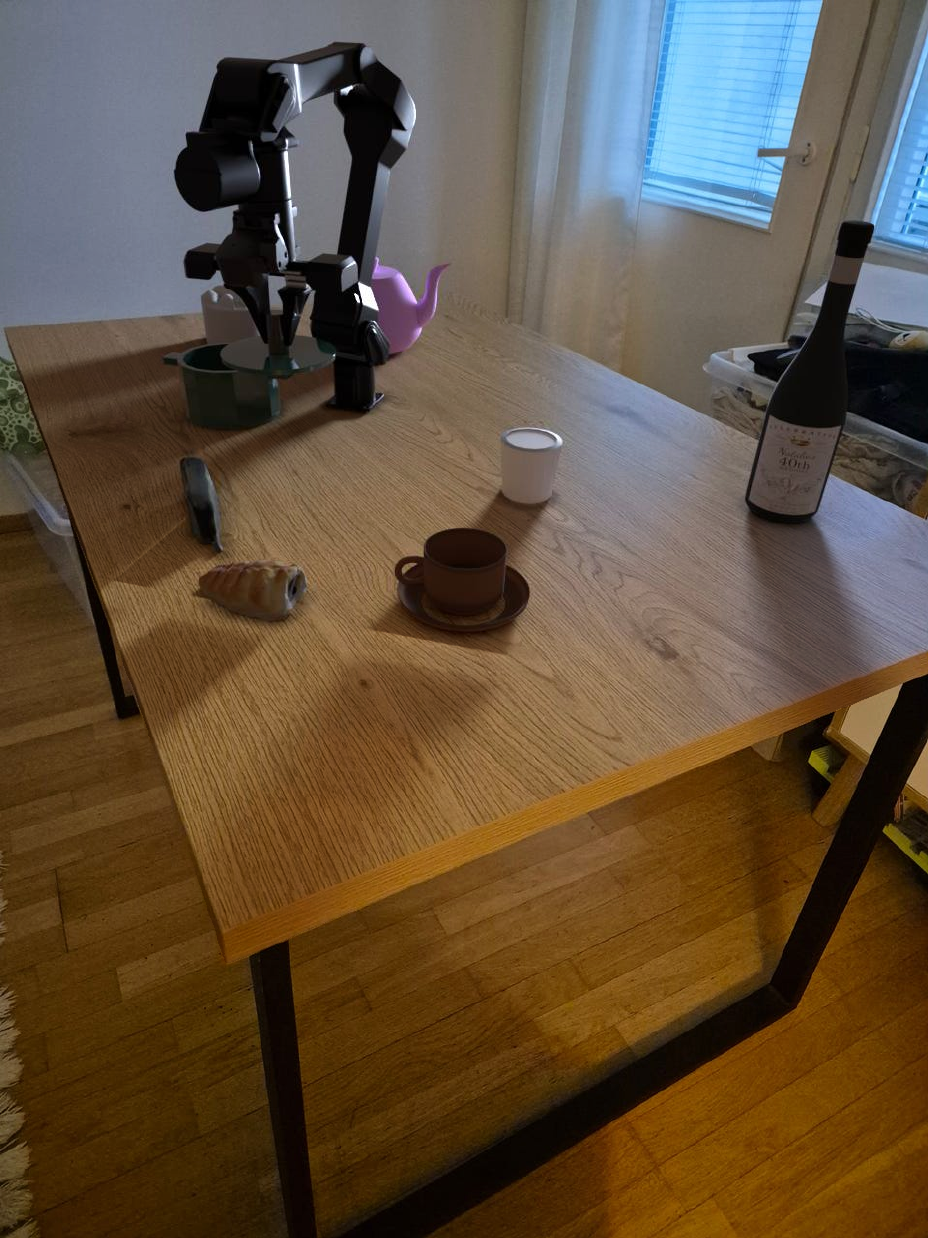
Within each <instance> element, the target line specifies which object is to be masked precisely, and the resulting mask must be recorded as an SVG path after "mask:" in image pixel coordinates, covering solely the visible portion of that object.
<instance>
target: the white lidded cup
mask: <svg viewBox="0 0 928 1238" xmlns="http://www.w3.org/2000/svg"><path fill="white" fill-rule="evenodd" d="M499 444H500V472H501V473H500V475H501V477H500V478H501V493H502V495H503V496H504V497H505V498H507V499H508V500H510V501H512V502H517V503H521V504H529V505H530V504H531V505H532V504H541V503H543V502H546V501H548V500H549V499H551V497H552V495H553V490H554V485H555V480H556V476H557V472H558V471H557V470H558V466H559V460H560V455H561V452H562V446H563V439H562V438H561V437H560V435H558V434H557V433H555V432H553V431H550V430H547V429H543V428H536V427H519V428H518V427H517V428H512V429H508V430H506V431H505V432H503V433H501V435H500V439H499Z"/></svg>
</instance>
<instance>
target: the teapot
mask: <svg viewBox="0 0 928 1238" xmlns="http://www.w3.org/2000/svg"><path fill="white" fill-rule="evenodd" d="M379 260H380V259H379V257H377V256H376V257H375V263H374V269H373V275H372V281H371V290H372V293H373V296H374V299H375V302H376V304H377V307H378V310H379V314H378V327H379V328H380V330H381V331H382V332H383V334H384V335H385V337H386V338H387V340H388V341H389V342H390V350H389V356H390V355H394V354H396V353H399V352H403V351H406V350H407V349H409V348H410V347H412V345H413V344H414V343H415V342H416V340H417V339H418V338H419V337H420V336H421V333H422V330H423V329H422V328H423V327H424V326H425V325H427V324H428V323H429V322H430V321H431V320H432V319H433V317H434V314H435V311H436V308H437V299H438V285H439V281H440V277H441V276H442V274H443V272H444V271H445V270H446V269H448V267H450V266H451V265H452V263H450V262H449V263H445V264H441V265H440V264H439V265H437V266H434V267H433V268H431V269H430V271H428V274H427V276H426V281H425V292H424V295H423V297H422V299H421V300H419V302H417V300H416V298H415V295H414V293H413V291H412V289H411V288H410V285H408V283H407V281H406V279H405V278H404V276H403V275H402V273H401V272H400V271H399V270H398V269H396V268H394V267H390V266H386V265H380V264H379Z"/></svg>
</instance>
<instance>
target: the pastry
mask: <svg viewBox="0 0 928 1238" xmlns="http://www.w3.org/2000/svg"><path fill="white" fill-rule="evenodd" d="M198 585H199V588H200V590H201V592H202V594H203V595H204V596H205V597H206V598H207V599H208V600H210V602H211V603H215V604H217V606H219V607H224V608H225V609H227V611H228V612H231V613H234V614H239V615H242V616H244V617H245V616H246V617H249V618H253V617H254V618H258V619H259V620H262V621H266V622H276V621H282V620H283V621H284V620H286V619H288V617H289V616H290V614H291V613H289V611H292V608H293V607H294V605H295V604H296V603H297V602H298V600H299V599H301V597H303V596H304V594H305V593H306V592H307V590H308V579H307V575H306V573H305V571H304V570H303V568H302V566H300V565H298V564H297V563H295V562H294V563H291V564H288V563H287V562H286V563H285V562H282V561H279V560H272V559H269V558H266V557H263V558H262V557H261V558H260V559H258V560H255V561H254V560H245V561H233V562H229V563H223V564H218V565H215V566H214V567H213V568H211V569H209V570H208V571H206V573H205V574H203V575H201V576H199V578H198Z"/></svg>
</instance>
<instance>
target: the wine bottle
mask: <svg viewBox="0 0 928 1238" xmlns="http://www.w3.org/2000/svg"><path fill="white" fill-rule="evenodd" d="M874 232H875V224H874V223H872V222H869V221H864V220H856V219H854V220H853V219H852V220H851V219H850V220H843V221H841V223H840V225H839V227H838V233H837V237H836V241H837V242H836V246H835V249H834V250H835V251H834V254H833V258H832V263H831V267H830V270H829V274H828V278H827V281H826V286H825V289H824V293H823V296H822V300H821V303H820V308H819V310H818V315H817V318H816V319H815V322H814V324H813V327H812V329H811V331H810V333H809V335H808V337H807V338H806V340H805V342H804V343H803V345H802V346H801V347H800V349H799V350H798V352H797V354H795V356H794V358H793V359H792V361H791V362H790V363H789V364H788V366H787V367H786V369H785V370H784V372H783V373H782V374H781V376H780V378H779V380H778V381H777V383H776V385H775V387H774V389H773V391H772V393H771V396H770V398H769V400H768V403H767V405H766V410H765V414H764V418H763V421H762V424H761V425H762V426H761V429H760V434H759V438H758V442H757V446H756V451H755V454H754V458H753V462H752V466H751V470H750V473H749V478H748V482H747V485H746V491H745V496H744V501H745V504H746V505H747V507H748V509H749V510H750V511H752V512H753V513H754V514H755V515H757V516H759V517H761V518H763V519H766V520H769V521H773V522H776V523H784V524H797V523H798V524H799V523H802V522H806V521H809V520H811V519H812V518H813V517H814V516H815V515H817V513H818V511H819V509H820V506H821V502H822V499H823V496H824V493H825V489H826V487H827V483H828V480H829V478H830V473H831V470H832V467H833V463H834V460H835V457H836V454H837V450H838V447H839V444H840V440H841V437H842V434H843V431H844V427H845V424H846V420H847V412H848V404H849V403H848V402H849V383H848V374H847V366H846V357H845V355H846V354H845V332H846V325H847V319H848V314H849V311H850V307H851V304H852V302H853V301H852V300H853V297H854V294H855V290H856V287H857V284H858V280H859V276H860V273H861V270H862V266H863V263H864V261H865V260H864V259H865V256H866V253H867V249H868V248H869V245H870V244H871V242H872V239H873V236H874Z"/></svg>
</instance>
